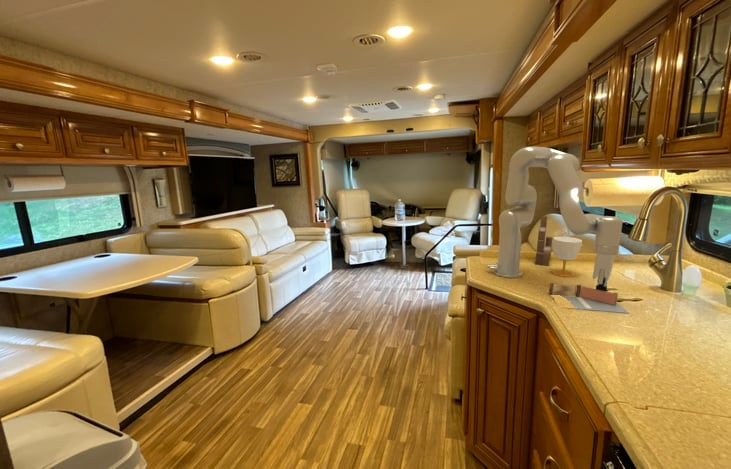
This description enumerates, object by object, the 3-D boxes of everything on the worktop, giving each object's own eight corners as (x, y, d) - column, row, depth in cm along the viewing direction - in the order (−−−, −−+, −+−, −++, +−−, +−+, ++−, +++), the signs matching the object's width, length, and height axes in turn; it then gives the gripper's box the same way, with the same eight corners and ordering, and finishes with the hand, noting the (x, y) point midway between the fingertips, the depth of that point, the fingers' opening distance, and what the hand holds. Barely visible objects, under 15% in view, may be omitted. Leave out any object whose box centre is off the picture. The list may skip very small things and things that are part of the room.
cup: (562, 269, 166) (565, 235, 162) (583, 276, 155) (588, 240, 151) (543, 271, 162) (547, 237, 159) (564, 279, 151) (569, 242, 148)
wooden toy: (549, 266, 170) (554, 218, 165) (535, 264, 174) (539, 217, 169) (550, 259, 183) (555, 214, 178) (537, 257, 187) (541, 213, 182)
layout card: (559, 307, 121) (559, 306, 121) (548, 293, 134) (548, 292, 134) (628, 313, 116) (629, 312, 116) (610, 298, 129) (610, 297, 129)
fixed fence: (549, 294, 132) (550, 283, 131) (548, 293, 134) (549, 282, 133) (580, 297, 130) (581, 286, 129) (578, 295, 131) (580, 284, 130)
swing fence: (580, 296, 129) (582, 286, 128) (581, 295, 130) (582, 285, 129) (615, 305, 121) (617, 294, 120) (616, 304, 122) (618, 293, 121)
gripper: (597, 244, 132) (592, 288, 135) (591, 251, 121) (585, 299, 124) (620, 247, 127) (614, 292, 130) (616, 254, 116) (610, 304, 119)
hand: (600, 295), depth 127 cm, fingers closed
